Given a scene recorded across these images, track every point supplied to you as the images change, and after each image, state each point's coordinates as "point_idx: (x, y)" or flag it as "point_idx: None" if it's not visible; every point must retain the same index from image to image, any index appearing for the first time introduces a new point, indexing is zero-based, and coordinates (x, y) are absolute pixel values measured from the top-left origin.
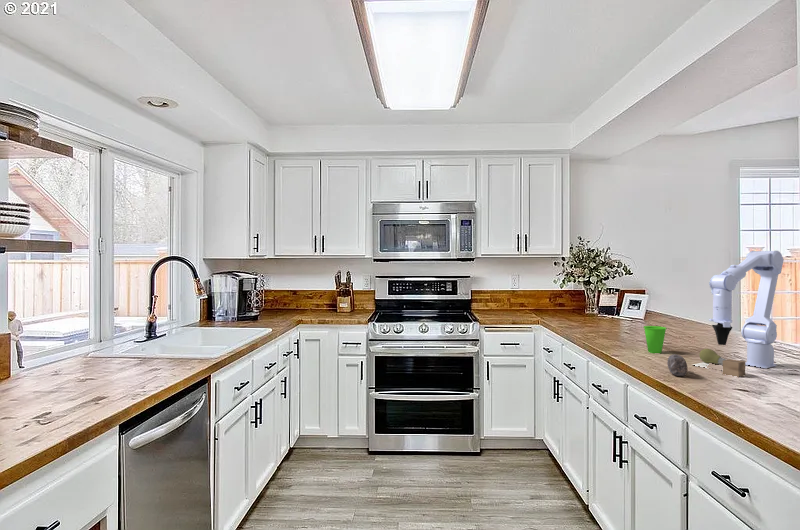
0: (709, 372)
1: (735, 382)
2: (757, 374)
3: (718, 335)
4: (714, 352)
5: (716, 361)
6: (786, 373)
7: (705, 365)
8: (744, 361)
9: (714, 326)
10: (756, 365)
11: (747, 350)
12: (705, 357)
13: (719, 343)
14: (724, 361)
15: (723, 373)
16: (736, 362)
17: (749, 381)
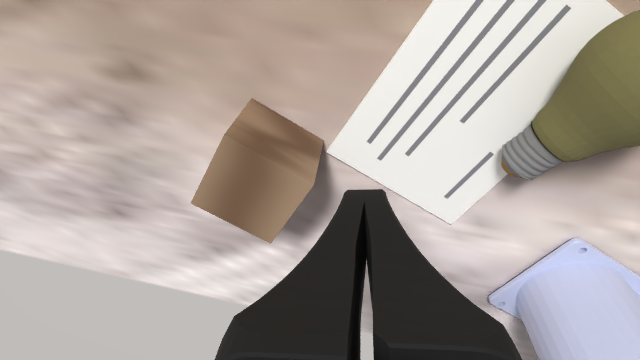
0: (269, 30)
1: (87, 125)
2: None
3: (313, 254)
4: (616, 136)
5: (535, 116)
6: None
7: (500, 31)
8: (269, 240)
9: (244, 336)
10: (526, 282)
11: (626, 327)
12: (589, 50)
13: (342, 200)
14: (220, 142)
15: (249, 104)
16: (207, 198)
17: (157, 184)
